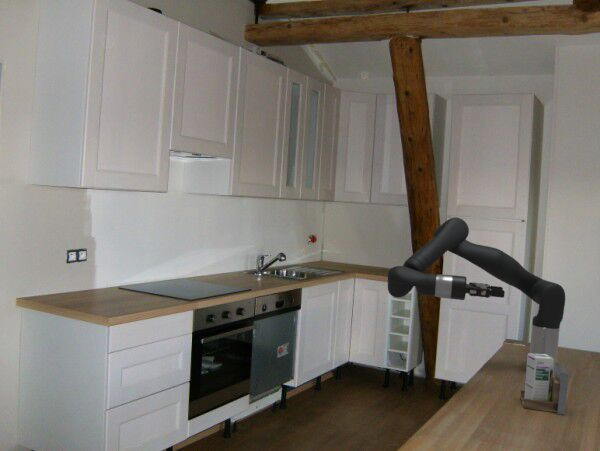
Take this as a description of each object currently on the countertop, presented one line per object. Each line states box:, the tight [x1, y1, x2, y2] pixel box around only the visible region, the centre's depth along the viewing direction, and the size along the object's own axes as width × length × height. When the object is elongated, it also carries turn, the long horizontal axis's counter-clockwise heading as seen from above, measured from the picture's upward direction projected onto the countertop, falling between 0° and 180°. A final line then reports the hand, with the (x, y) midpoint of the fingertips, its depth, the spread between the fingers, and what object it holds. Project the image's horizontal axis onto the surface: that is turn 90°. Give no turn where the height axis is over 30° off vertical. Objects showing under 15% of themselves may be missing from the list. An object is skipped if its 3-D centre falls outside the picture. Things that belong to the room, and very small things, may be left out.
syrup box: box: [524, 352, 554, 402], centre depth 193 cm, size 6×6×14 cm
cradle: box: [519, 375, 560, 414], centre depth 192 cm, size 10×9×8 cm
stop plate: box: [554, 362, 569, 416], centre depth 191 cm, size 12×2×12 cm, turn 166°
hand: (503, 292), depth 201 cm, fingers open, 8 cm apart
